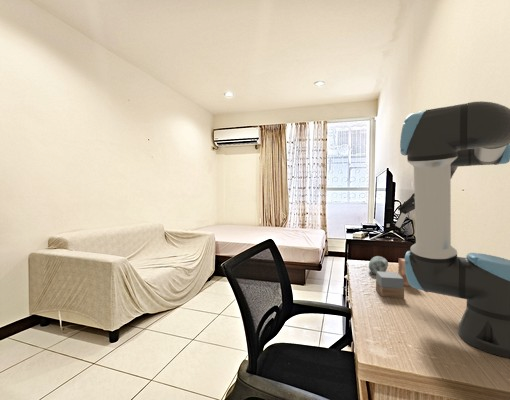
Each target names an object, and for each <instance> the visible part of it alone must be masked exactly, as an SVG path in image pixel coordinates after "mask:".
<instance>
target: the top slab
mask: <svg viewBox="0 0 510 400" xmlns="http://www.w3.org/2000/svg"><path fill="white" fill-rule="evenodd" d="M375 277H376V278H375V279H376V280H375V282H376V281H377V282H378V284H379V285H380V286H381V287H385V288H400V289H403V288H404V286H403V285H404V279H403V278H402V277H401V276H400V275H399V274H398V271H397V272H396V271H395V272H393V271H391V272H390V271H386V272H379V271H376V274H375Z"/></svg>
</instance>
